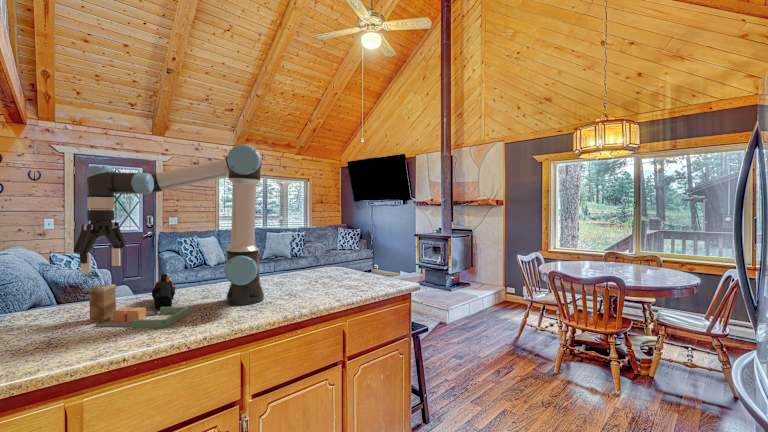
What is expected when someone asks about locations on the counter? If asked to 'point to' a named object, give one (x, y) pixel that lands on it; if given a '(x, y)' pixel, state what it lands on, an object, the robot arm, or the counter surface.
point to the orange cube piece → (136, 314)
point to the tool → (163, 292)
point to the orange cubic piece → (120, 314)
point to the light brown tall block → (102, 302)
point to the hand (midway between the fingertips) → (101, 269)
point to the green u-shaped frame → (178, 314)
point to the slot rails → (121, 324)
